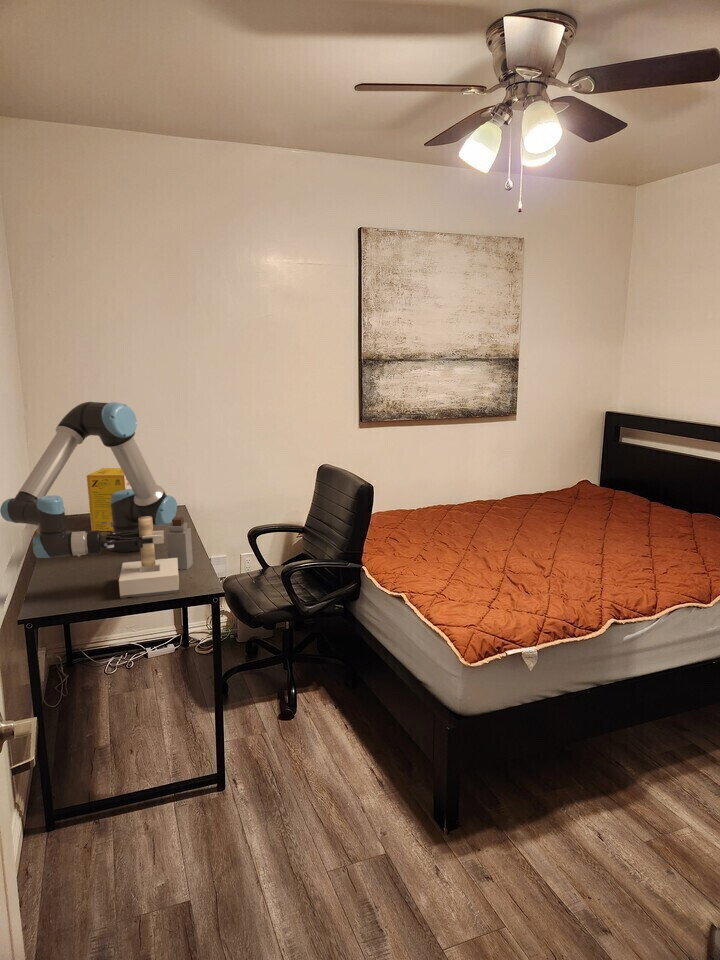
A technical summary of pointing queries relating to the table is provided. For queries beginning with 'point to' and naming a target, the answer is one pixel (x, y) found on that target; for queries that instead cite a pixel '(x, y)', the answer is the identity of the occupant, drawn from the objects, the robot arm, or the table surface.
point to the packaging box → (104, 495)
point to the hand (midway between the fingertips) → (163, 536)
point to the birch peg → (148, 550)
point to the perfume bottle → (180, 543)
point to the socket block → (149, 578)
